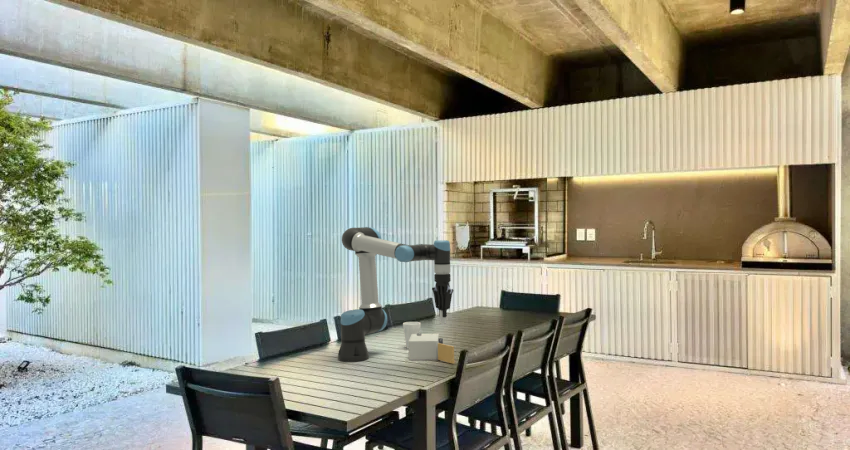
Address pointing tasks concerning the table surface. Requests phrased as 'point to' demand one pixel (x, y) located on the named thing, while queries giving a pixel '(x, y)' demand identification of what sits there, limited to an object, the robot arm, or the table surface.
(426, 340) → the housing
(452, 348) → the door
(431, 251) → the robot arm
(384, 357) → the table surface
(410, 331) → the foam cup
